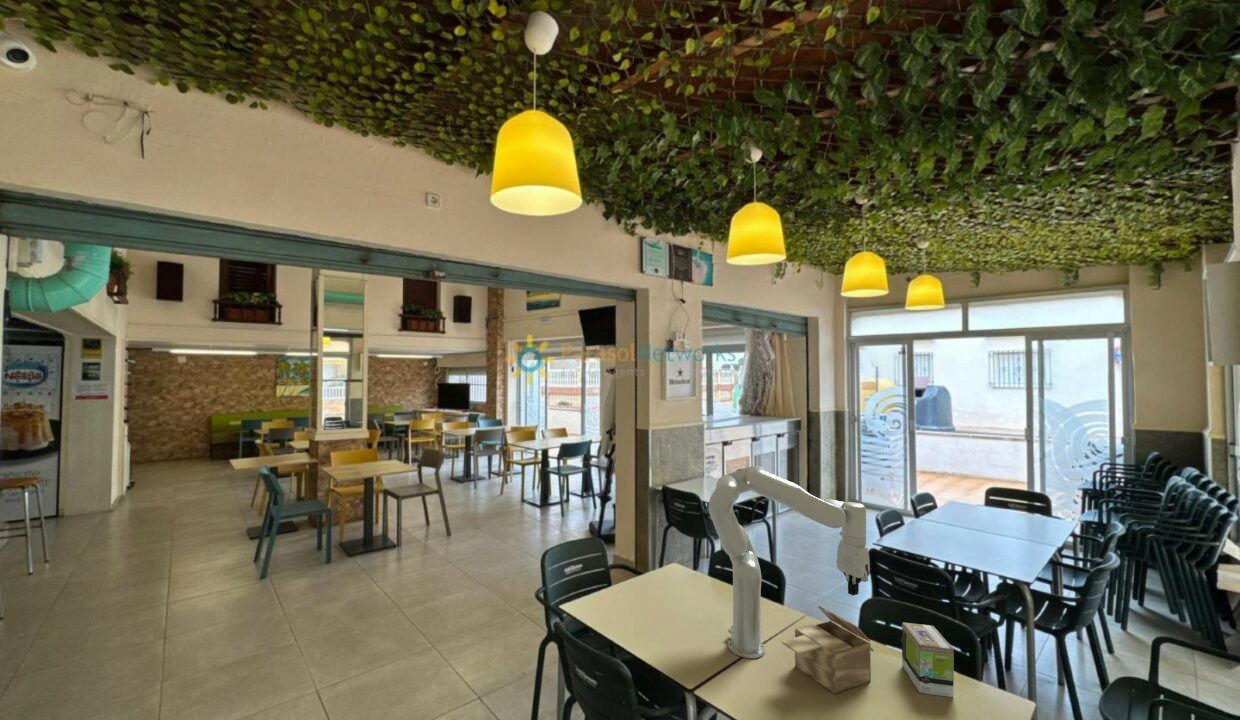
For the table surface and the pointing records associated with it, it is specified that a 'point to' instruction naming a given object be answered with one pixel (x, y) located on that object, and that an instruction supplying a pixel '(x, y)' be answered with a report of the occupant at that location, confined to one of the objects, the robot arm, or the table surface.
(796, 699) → the table surface
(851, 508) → the robot arm
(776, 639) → the table surface
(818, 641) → the near flap
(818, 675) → the carton
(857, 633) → the far flap
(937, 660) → the tea box
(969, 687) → the table surface
